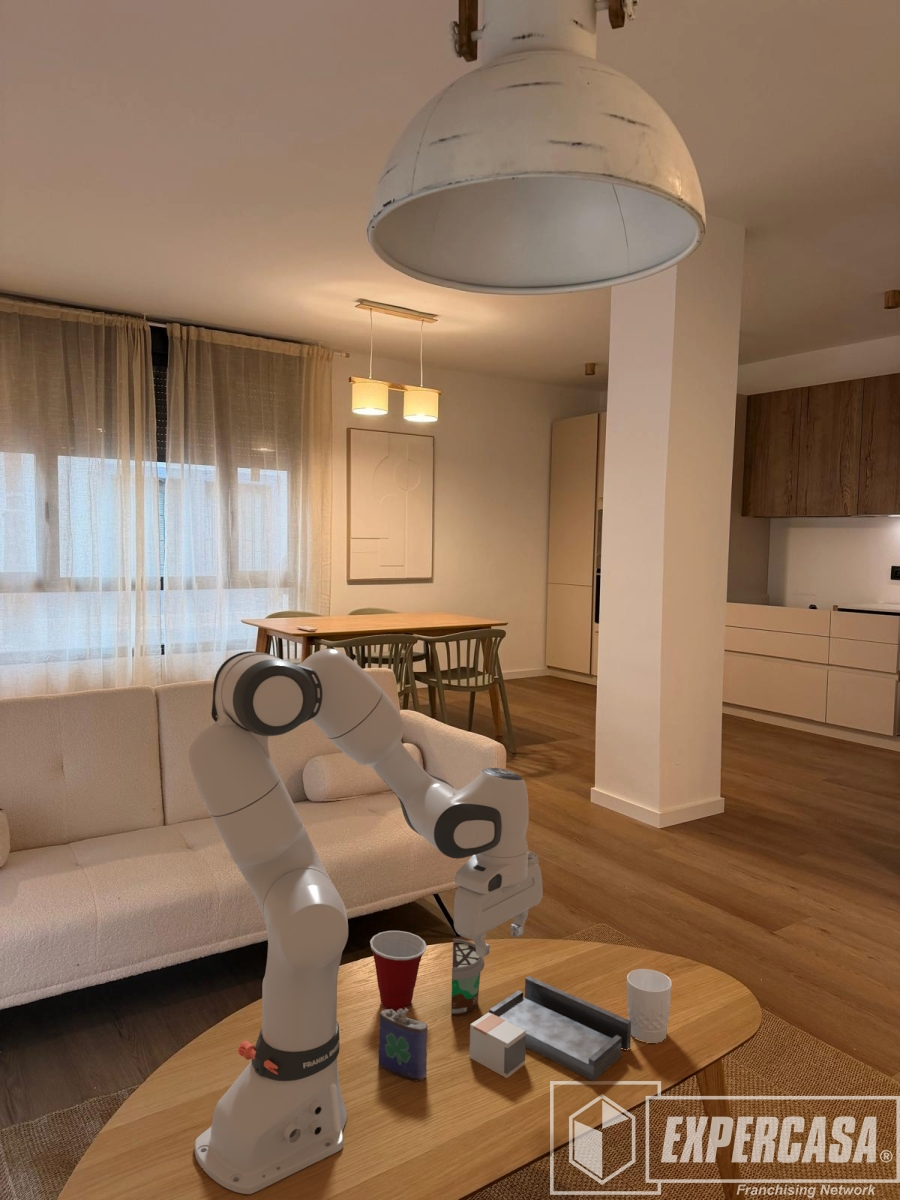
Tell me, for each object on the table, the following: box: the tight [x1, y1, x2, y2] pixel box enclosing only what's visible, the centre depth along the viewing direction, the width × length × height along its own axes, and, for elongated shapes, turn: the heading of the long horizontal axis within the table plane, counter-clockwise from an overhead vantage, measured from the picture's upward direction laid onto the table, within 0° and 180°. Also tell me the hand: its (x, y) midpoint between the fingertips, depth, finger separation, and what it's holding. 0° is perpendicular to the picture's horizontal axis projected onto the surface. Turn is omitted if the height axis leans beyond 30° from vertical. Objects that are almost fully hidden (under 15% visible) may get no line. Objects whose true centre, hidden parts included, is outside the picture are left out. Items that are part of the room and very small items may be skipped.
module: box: [469, 1012, 527, 1079], centre depth 139 cm, size 5×8×6 cm, turn 49°
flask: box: [378, 1008, 429, 1083], centre depth 136 cm, size 9×3×11 cm, turn 59°
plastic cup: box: [369, 930, 427, 1012], centre depth 156 cm, size 11×11×12 cm
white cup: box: [626, 968, 673, 1044], centre depth 148 cm, size 8×8×10 cm
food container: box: [450, 938, 485, 1018], centre depth 156 cm, size 12×6×10 cm, turn 179°
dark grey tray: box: [488, 976, 632, 1082], centre depth 146 cm, size 12×22×5 cm, turn 49°
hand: (500, 944), depth 138 cm, fingers open, 8 cm apart
